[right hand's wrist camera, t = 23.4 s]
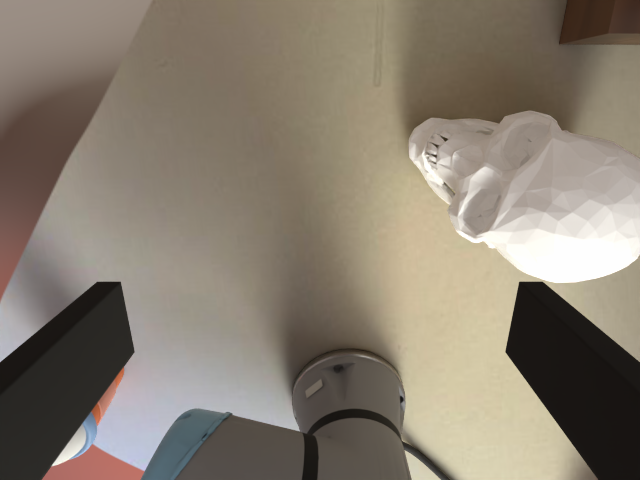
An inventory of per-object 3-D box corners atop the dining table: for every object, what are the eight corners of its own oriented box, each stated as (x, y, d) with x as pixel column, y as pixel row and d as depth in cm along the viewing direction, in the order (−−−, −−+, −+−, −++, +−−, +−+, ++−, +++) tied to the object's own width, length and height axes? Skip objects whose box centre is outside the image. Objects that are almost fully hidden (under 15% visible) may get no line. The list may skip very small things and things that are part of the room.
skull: (432, 75, 39) (495, 70, 25) (611, 155, 42) (765, 194, 27) (377, 193, 44) (403, 248, 29) (542, 258, 47) (641, 338, 32)
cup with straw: (69, 330, 50) (-60, 449, 33) (139, 347, 51) (50, 471, 34) (64, 385, 53) (-55, 520, 36) (131, 400, 54) (45, 538, 37)
